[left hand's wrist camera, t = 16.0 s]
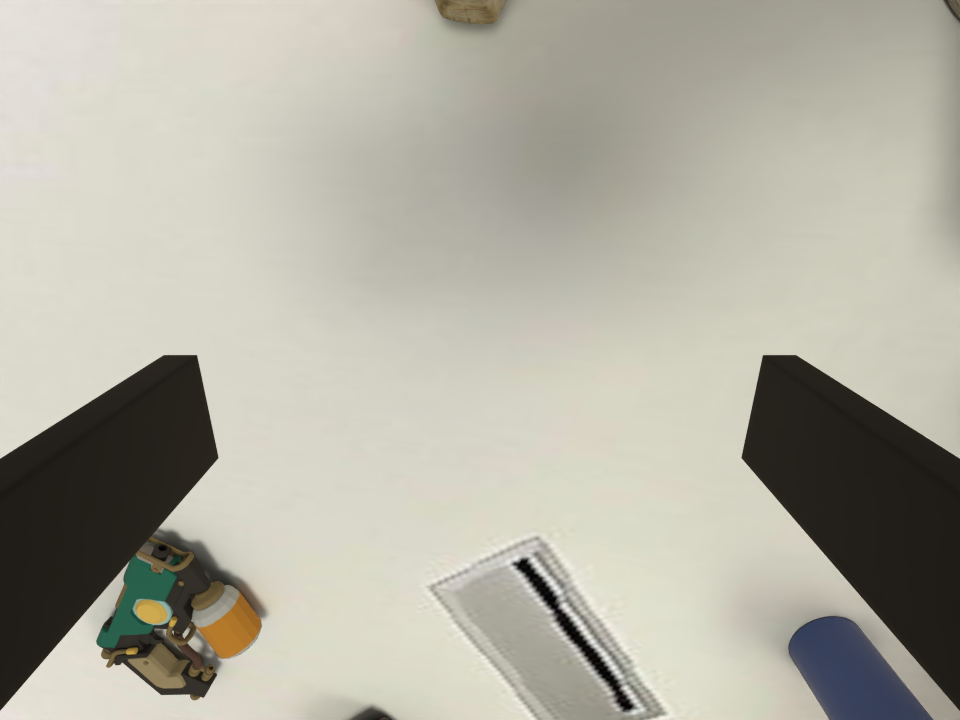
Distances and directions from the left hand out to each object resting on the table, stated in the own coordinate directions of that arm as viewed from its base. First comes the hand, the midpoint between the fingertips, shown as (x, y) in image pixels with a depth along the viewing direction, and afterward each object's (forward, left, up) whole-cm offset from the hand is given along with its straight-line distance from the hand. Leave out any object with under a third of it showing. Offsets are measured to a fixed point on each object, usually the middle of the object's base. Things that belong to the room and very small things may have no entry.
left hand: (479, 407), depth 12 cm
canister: (-8, +51, -27) cm, 59 cm away
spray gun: (+43, +14, -27) cm, 53 cm away
